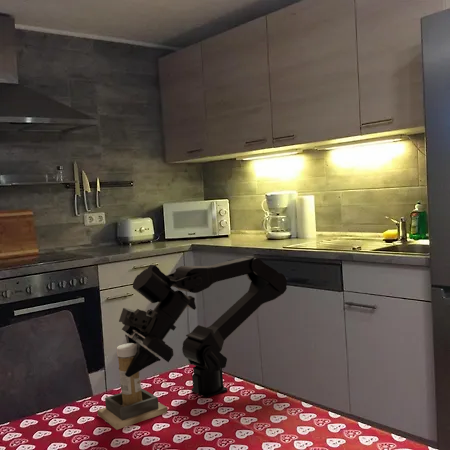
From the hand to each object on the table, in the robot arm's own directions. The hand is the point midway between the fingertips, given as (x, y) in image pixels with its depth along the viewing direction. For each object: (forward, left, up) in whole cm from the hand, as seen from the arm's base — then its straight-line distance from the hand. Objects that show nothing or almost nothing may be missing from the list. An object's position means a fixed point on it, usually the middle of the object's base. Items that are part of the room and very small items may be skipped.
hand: (123, 373), depth 120 cm
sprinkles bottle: (-1, 0, -8) cm, 8 cm away
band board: (-1, 0, -9) cm, 10 cm away
